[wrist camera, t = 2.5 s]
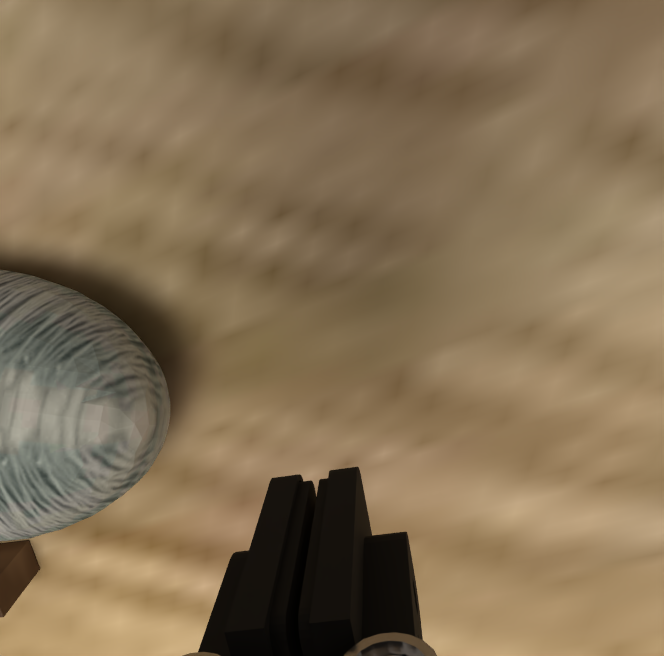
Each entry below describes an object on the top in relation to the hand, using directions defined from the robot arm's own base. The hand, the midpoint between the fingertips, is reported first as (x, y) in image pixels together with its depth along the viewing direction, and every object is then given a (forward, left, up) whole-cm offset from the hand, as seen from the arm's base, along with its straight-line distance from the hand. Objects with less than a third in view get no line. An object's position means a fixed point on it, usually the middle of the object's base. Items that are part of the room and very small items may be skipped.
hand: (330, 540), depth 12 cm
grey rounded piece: (-1, -13, -14) cm, 19 cm away
